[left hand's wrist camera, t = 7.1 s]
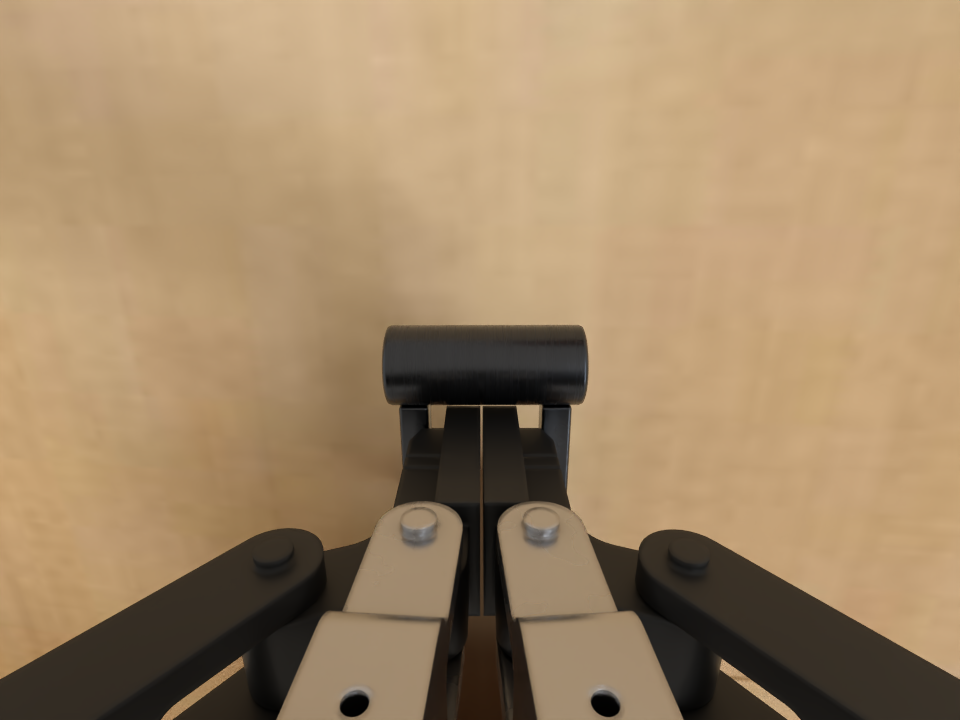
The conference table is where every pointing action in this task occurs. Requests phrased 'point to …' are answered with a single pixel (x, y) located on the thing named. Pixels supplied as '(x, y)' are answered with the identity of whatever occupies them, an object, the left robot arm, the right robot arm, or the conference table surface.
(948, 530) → the conference table surface
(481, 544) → the drawer
